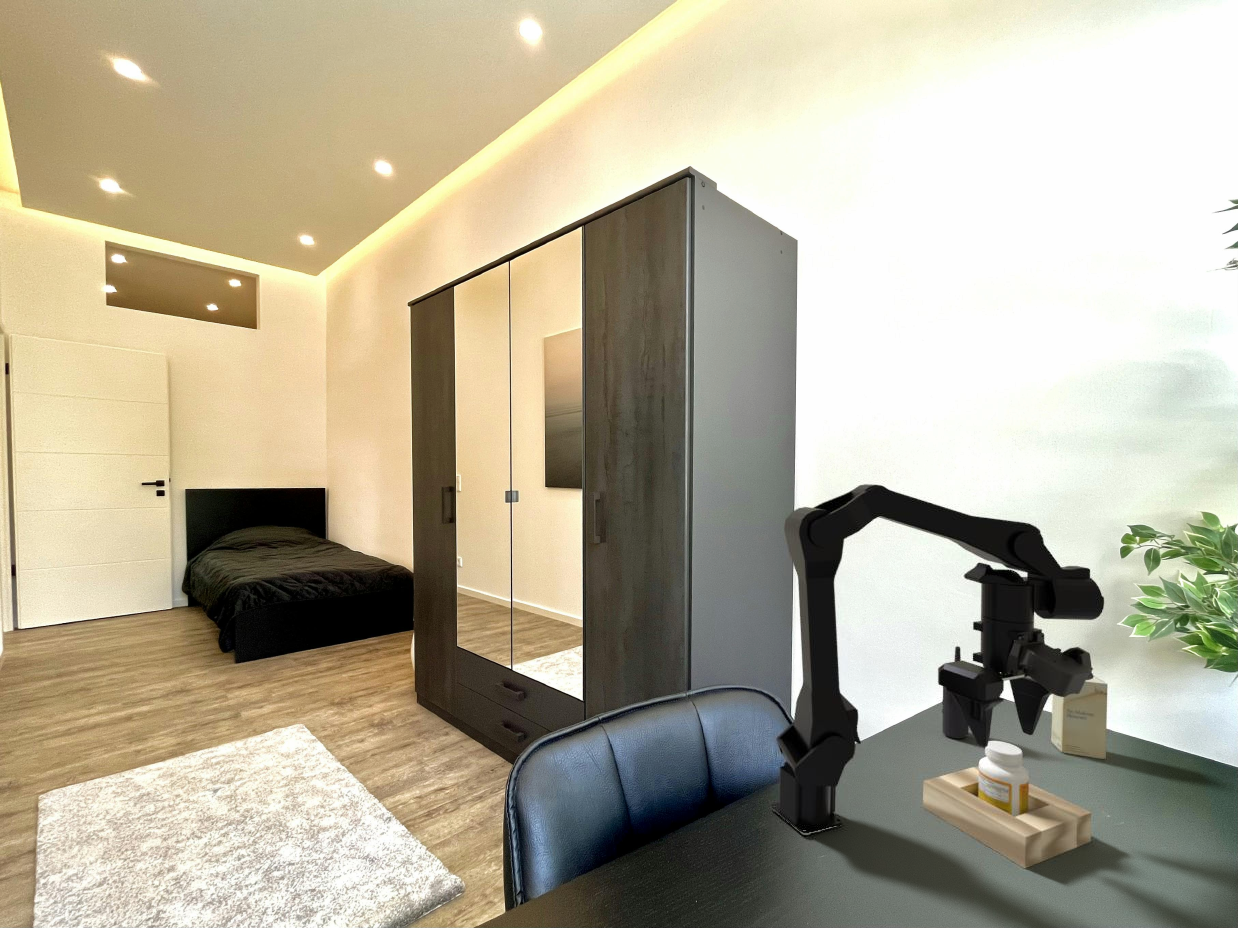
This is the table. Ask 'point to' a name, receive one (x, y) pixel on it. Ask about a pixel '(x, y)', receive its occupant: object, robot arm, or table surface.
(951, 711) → the two-way radio
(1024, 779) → the supplement bottle
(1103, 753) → the skincare box
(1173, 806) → the table surface
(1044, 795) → the socket block
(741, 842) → the table surface
